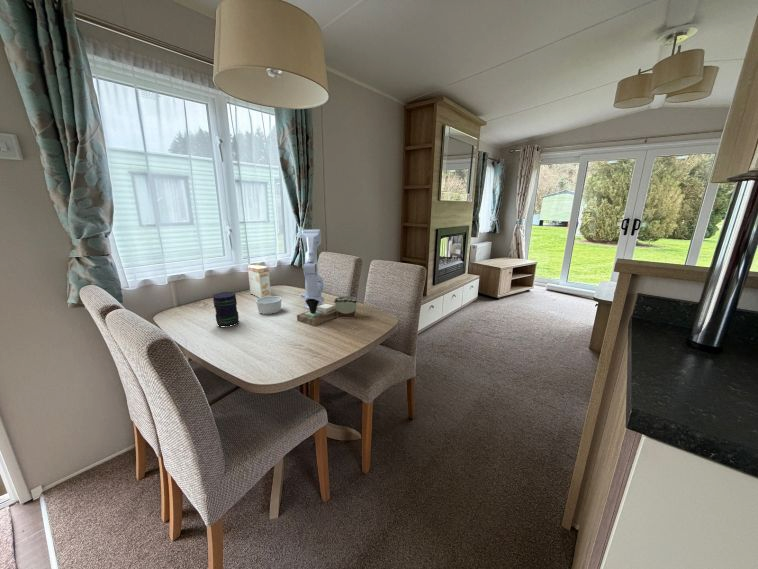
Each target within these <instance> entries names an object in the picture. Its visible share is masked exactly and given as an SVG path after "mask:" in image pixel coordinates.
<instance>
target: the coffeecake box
mask: <svg viewBox="0 0 758 569" xmlns="http://www.w3.org/2000/svg"><path fill="white" fill-rule="evenodd" d="M247 272H248V282H249V283H248V284H249V291H250V295H251V294H253V295H255V296H254V297H256V296H257V297H256V298H258V297H259V298H261V297H266V296H272V293H271V292H272V291H271V281H270V280H271V279H270V270H269V266H265V265H260V264H250V265H247ZM253 295H252V296H253ZM259 298H258V299H259Z"/></svg>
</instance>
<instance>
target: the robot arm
mask: <svg viewBox="0 0 758 569" xmlns="http://www.w3.org/2000/svg"><path fill="white" fill-rule="evenodd" d="M301 238H302V242H303V244H304V246H306V248H307V251H306V252H305V253H304V264H303V267H302V268H303V275H304V279H305V280H304V283H305V284H304V285H305V286H304V288H305V292H302V293H300V297H301V298H304V307H303V308H306V309H309V311H310V312H311V313H312V314H313V313H316V308H318V306H320V305H323V302H325V297H323V295H322V292H323V291H324V279H323V277H322V276H320V275H319V273H318V272H319V267H318V253H317V252H318V251H317V250H318V247H319V246H320V245H321V244H322V234H321V229H320V228H318V229H304V228H303V229H302V230H301Z"/></svg>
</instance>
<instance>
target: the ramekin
mask: <svg viewBox="0 0 758 569" xmlns="http://www.w3.org/2000/svg"><path fill="white" fill-rule="evenodd" d="M282 302H283V300H282V297H281V296H279V295H271V296H266V297H261V298H257V299H256V300H255V303H256V306H257V310H258V313H260V314H261V313H262V315H273V314H272V313H274V314H277V313H279V312H280V311H281V310H282ZM276 312H277V313H276Z"/></svg>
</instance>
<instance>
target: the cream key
mask: <svg viewBox="0 0 758 569" xmlns="http://www.w3.org/2000/svg"><path fill="white" fill-rule="evenodd" d="M334 307H335V305H334V304H329V303H324V304H323V303H322V305H320V306H318V310H319V311H322V312H329V311H331V310H334Z"/></svg>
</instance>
